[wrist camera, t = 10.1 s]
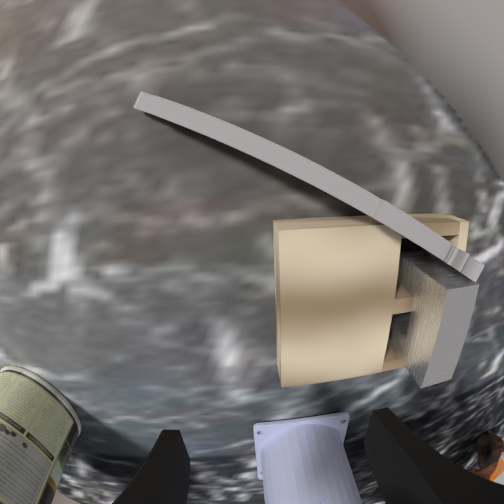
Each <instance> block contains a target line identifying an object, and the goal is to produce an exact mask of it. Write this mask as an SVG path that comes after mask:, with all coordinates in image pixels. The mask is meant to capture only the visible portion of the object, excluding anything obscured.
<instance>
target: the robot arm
mask: <svg viewBox="0 0 504 504" xmlns="http://www.w3.org/2000/svg"><path fill="white" fill-rule="evenodd" d="M349 418H350V415H349V413H348V412H346V411H345V412H339V413H333V414H327V415H321V416H314V417H307V418H299V419H291V420H282V421H272V422H261V423H256V424H255V425H254V426H253V429H254V440H255V450H256V461H257V471H258V478H259V479H261V480H263V487H264V498H265V504H362V501H361V498H360V495H359V492H358V489H357V486H356V482H355V479H354V476H353V473H352V470H351V467H350V464H349V461H348V458H347V455H346V452H345V449H344V446H343V443H344V439H345V435H346V431H347V427H348V422H349ZM364 445H365V449H366V453H367V457H368V460H369V464H370V466H371V468H372V471H373V473H374V476H375V478H376V480H377V483H378V485H379V488H380V490H381V492H382V495H383V497H384V499H385V502H386V504H504V485H503V484H499V483H496V482H493V481H490V480H487V479H485V478H483V477H480V476H478V475H476V474H474V473H471V472H469V471H467V470H465V469H464V468H462V467H460V466H458V465H457V464H455V463H453V462H452V461H450V460H449V459H447V458H446V457H444V456H443V455H441V454H440V453H439V452H437V451H436V450H435V449H433V448H432V447H431V446H429V445H428V444H427V443H426V442H425V441H423V440H422V439H421V438H420V437H419V436H418V435H416V434H415V433H414V432H413V431H412V430H411V429H410V428H409V427H408V426H406V425H405V424H404V423H403V422H402V421H401V420H400V419H399V418H398V417H397V416H396V415H395V414H394V413H393V412H392V411H391V410H390V409H389V408H383V409H378V410H374V411H373V412H372V416H371V419H370V423H369V426H368V429H367V432H366V436H365V439H364ZM189 480H190V458H189V455H188V452H187V450H186V447H185V444H184V442H183V439H182V436H181V433H180V430H162V431H161V433H160V435H159V437H158V439H157V441H156V443H155V444H154V446H153V448H152V450H151V451H150V453H149V455H148V456H147V458H146V460H145V461H144V463H143V464H142V466H141V467H140V469H139V470H138V472H137V473H136V475H135V476H134V478H133V479H132V480H131V482H130V483H129V484H128V485H127V487H126V488H125V489H124V491H123V492H122V493H121V494H120V495H119V497H118V498H117V499H116V500H115V501H114V502H113V503H112V504H186V501H187V495H188V488H189Z"/></svg>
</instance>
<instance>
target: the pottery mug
mask: <svg viewBox="0 0 504 504" xmlns="http://www.w3.org/2000/svg"><path fill="white" fill-rule="evenodd" d="M486 433H487V435H482V436H481V437H479V438H478V439H477V444H478V460H477V461H478V466H479V467H480V468H481V469H479V470H476V468H473V469H471V470H467V471H469V472H471V473H474V474H476V475H478V476H480V477H483V478H485V479H487V480H490V476H491V475H492V474H493V472H494V471H495V470H496V467H497V466H498V461H499V458H500V457H501V454H502V452H503V448H504V443H503V440H502V439H501V438H500V437H499V436H497V435H494V432H493V431H491V430H487V431H486Z"/></svg>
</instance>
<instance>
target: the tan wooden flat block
mask: <svg viewBox="0 0 504 504" xmlns="http://www.w3.org/2000/svg"><path fill="white" fill-rule="evenodd" d="M408 215H409V216H411V217H413V218H414V219H416V220H417V221H419V222H420V223H422V224H423V225H425V226H427V227H428V228H430V229H431V230H433V231H434V232H436V233H437V234H439V235H440V236H442V237H443V238H444V239H446V240H447V241H449V242H450V243H452V244H453V246H455V247H457V248H458V249H460V250H463V251H466V243H467V235H468V226H469V222H468V221H466V220H463V219H461V218H458V217H455V216H453V215H450V214H447V213H435V214H408ZM401 238H406V237H404V236H402V235H401V234H399V233H398V232H396V231H394V230H393V229H391V228H389V227H387V226H386V225H384V224H382V223H380V222H379V221H377V220H375V219H374V218H372V217H370V216H368V215H366V216H341V217H320V218H301V219H283V220H273V239H274V267H275V299H276V338H277V366H278V372H279V377H280V382H281V387H289V386H298V385H306V384H314V383H321V382H328V381H334V380H341V379H347V378H352V377H358V376H363V375H369V374H374V373H379V372H383V371H388V370H393V369H397V368H401V367H405V366H404V364H403V363H402V361H401V360H400V359H399V357H398V356H397V355H396V353H395V352H394V350H393V349H392V348H391V346H390V345H389V344H388V337H389V331H390V326H391V320H392V315H393V314H399V313H405V312H410V311H411V310H412V305H413V299H414V295H413V294H411V293H410V292H409V291H408V290H407V289H406V288H405V287H404V286H402V285H401V284H400V283H399V282H398V281H397V277H398V268H399V259H400V248H401ZM435 257H436V256H435Z"/></svg>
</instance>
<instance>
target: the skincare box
mask: <svg viewBox="0 0 504 504" xmlns="http://www.w3.org/2000/svg"><path fill="white" fill-rule="evenodd" d="M490 481H493V482H496V483H499V484H503V485H504V452H502V454H501V457H500V458H499V461H498V466H497V467H496V470H495V471H494V472H493V474H492V475H491V476H490Z"/></svg>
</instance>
